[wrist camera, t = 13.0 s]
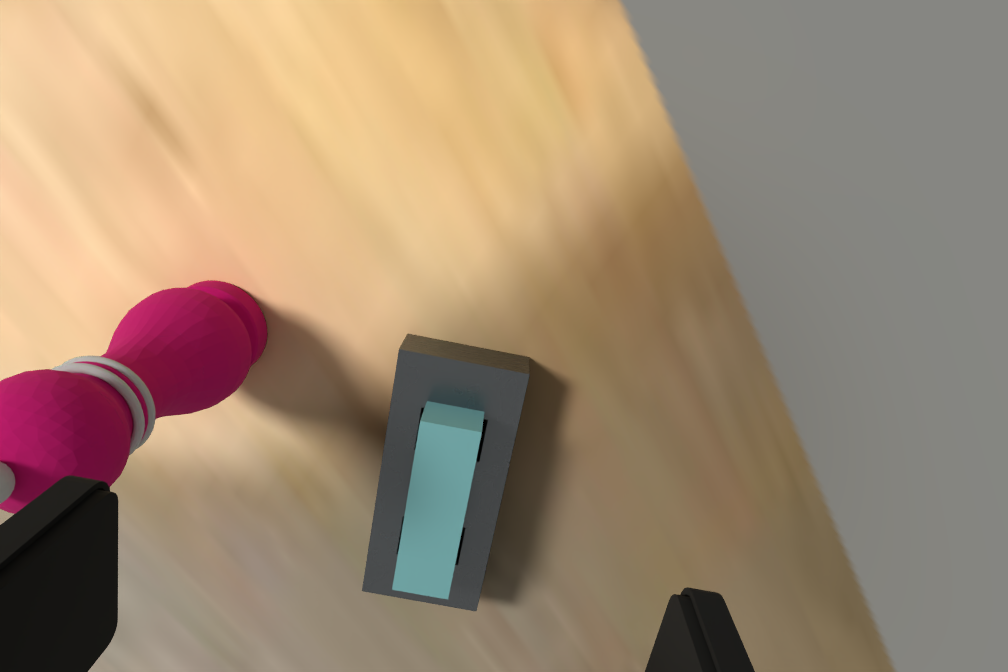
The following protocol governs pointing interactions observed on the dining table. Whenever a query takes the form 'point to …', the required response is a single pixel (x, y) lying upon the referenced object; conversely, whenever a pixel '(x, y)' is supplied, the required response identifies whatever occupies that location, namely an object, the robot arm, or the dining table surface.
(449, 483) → the clip
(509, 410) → the rail
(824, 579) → the dining table surface
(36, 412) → the pepper mill
